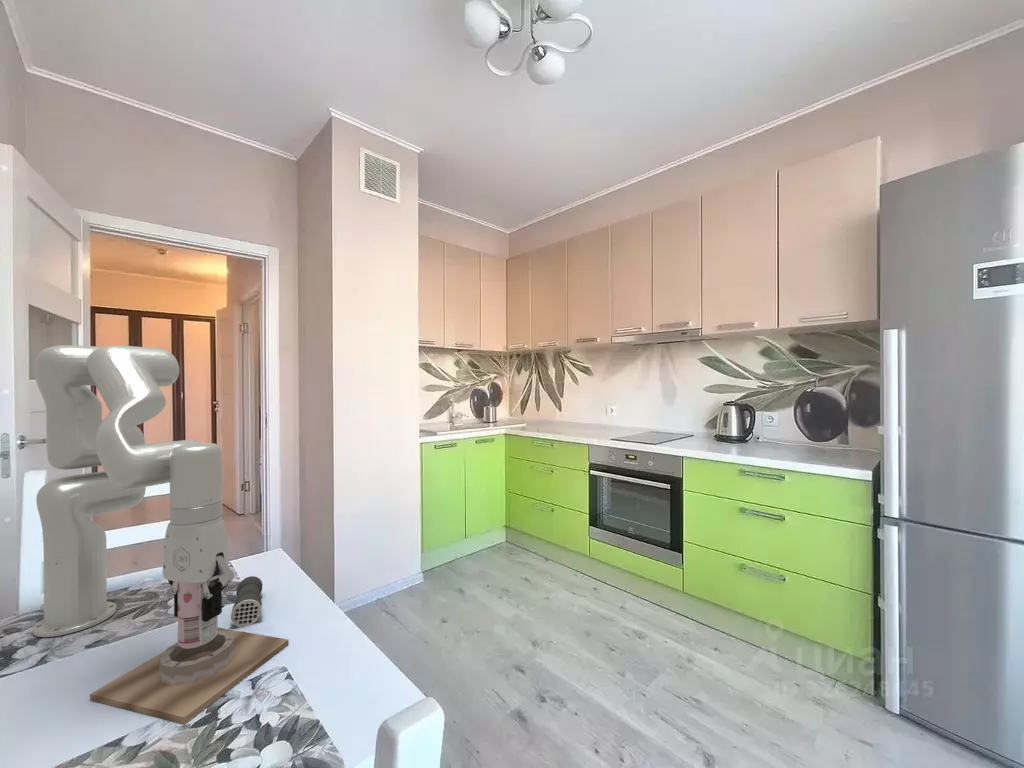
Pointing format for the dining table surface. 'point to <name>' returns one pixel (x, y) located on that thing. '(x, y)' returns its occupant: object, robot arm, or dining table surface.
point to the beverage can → (193, 616)
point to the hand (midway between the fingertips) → (198, 614)
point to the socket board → (189, 694)
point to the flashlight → (247, 602)
